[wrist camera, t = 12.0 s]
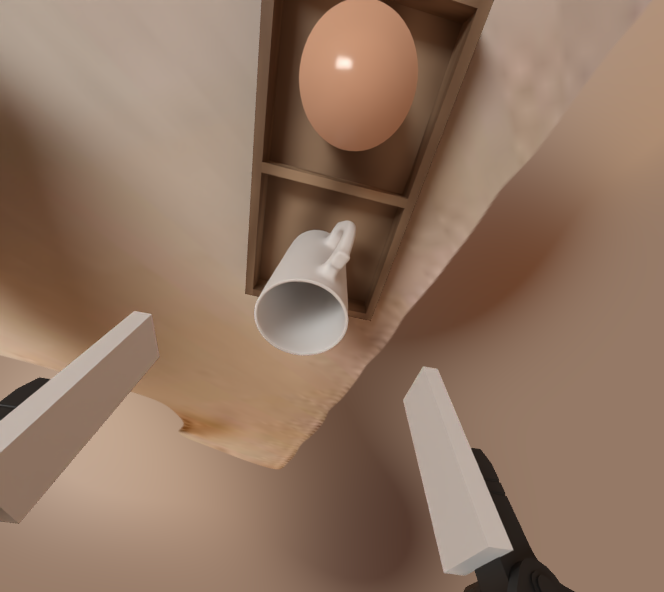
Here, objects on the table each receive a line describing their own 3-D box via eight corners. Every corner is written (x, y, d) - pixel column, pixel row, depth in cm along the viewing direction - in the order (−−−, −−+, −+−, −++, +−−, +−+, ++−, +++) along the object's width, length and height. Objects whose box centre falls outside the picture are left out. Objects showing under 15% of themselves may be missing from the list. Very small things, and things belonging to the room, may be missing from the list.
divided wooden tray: (253, 280, 31) (245, 293, 28) (278, -48, 18) (266, -82, 15) (368, 306, 32) (370, 320, 29) (474, 15, 19) (496, -6, 16)
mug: (326, 293, 31) (316, 368, 20) (276, 264, 29) (239, 329, 19) (378, 224, 26) (399, 276, 16) (323, 185, 25) (307, 215, 14)
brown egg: (305, 137, 23) (291, 136, 17) (321, 30, 19) (310, -22, 13) (381, 158, 23) (393, 163, 17) (410, 57, 20) (438, 19, 14)
